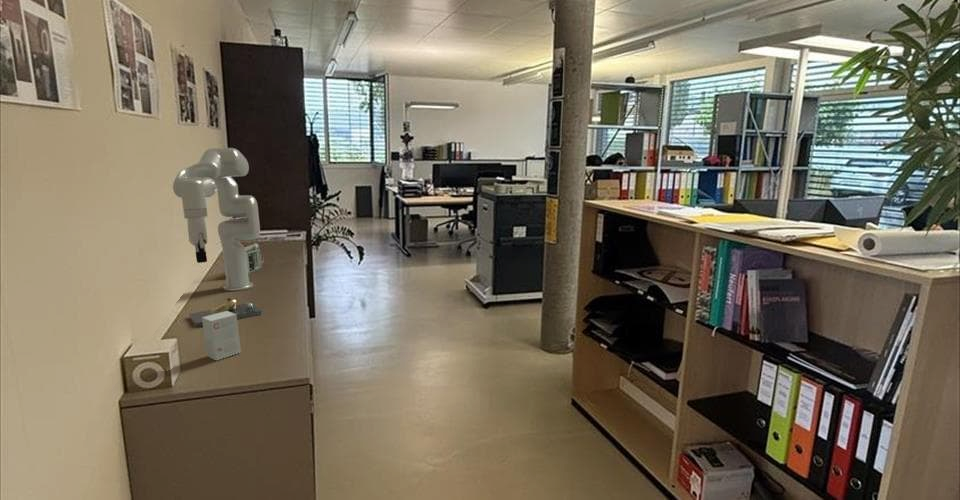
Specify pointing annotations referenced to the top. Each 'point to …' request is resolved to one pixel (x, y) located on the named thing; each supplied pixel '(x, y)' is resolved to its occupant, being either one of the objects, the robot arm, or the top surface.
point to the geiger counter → (253, 257)
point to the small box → (221, 335)
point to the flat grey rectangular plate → (240, 312)
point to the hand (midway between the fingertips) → (202, 261)
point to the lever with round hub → (225, 306)
